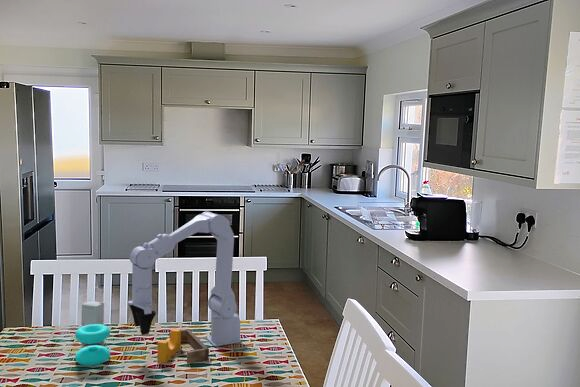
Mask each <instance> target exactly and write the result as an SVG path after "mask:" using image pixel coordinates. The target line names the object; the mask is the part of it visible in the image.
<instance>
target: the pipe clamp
mask: <svg viewBox="0 0 580 387" xmlns="http://www.w3.org/2000/svg"><path fill="white" fill-rule="evenodd" d="M181 330H182V329H179V328H172V329H171V330H170V332H171V336H170V338H169V337H167V338H166V339H160V340H158V341H157V349H156V350H157V356H156V358H157V359H156V360H157V363H162V364H166V363H167V362H168V361H169V360H170V359H171V358H172V357H174V356H175V354H176V353H177V352H178V351H179V350H180V349H181V347H182V344H181V343H182V341H181Z"/></svg>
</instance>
